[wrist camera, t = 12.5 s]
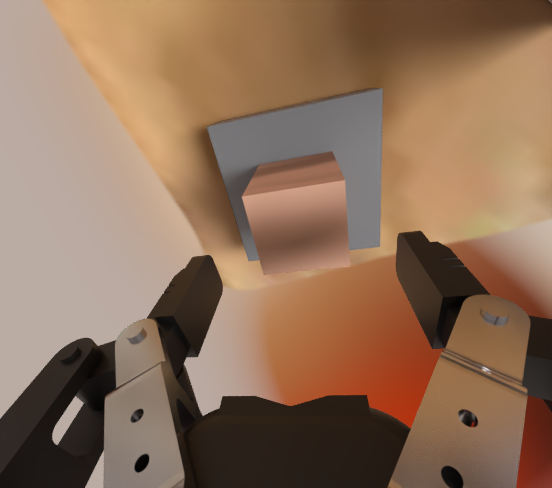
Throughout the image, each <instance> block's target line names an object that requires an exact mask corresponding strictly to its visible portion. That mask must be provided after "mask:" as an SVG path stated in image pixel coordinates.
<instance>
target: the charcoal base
mask: <svg viewBox="0 0 552 488" xmlns="http://www.w3.org/2000/svg"><path fill="white" fill-rule="evenodd" d="M382 106H383V88H369V89H364V90H360V91H355V92H350V93H346V94H341V95H337V96H332V97H328V98H323V99H319V100H314V101H310V102H305V103H301V104H296V105H292V106H287V107H283V108H278V109H274V110H269V111H264V112H260V113H255V114H251V115H246V116H242V117H237V118H233V119H228V120H224V121H219V122H217V123H215V124H212V125H210V126H208V127H207V130H208V133H209V136H210V139H211V142H212V146H213V149H214V152H215V155H216V158H217V162H218V165H219V168H220V171H221V174H222V178H223V181H224V184H225V187H226V190H227V194H228V197H229V200H230V203H231V206H232V210H233V213H234V216H235V219H236V222H237V226H238V229H239V232H240V235H241V238H242V242H243V245H244V248H245V251H246V254H247V257H248V261H256V260H260V259H259V256H258V252H257V249H256V245H255V242H254V238H253V235H252V231H251V228H250V224H249V221H248V217H247V214H246V210H245V207H244V203H243V200H242V195H243V193H244V191H245V190H246V188H247V186H248V184H249V182H250V181H251V179H252V177H253V175H254V173H255V172H256V170H257V168H258V166H259V164H265V163H270V162H276V161H281V160H287V159H292V158H298V157H303V156H309V155H314V154H320V153H325V152H331V151H332V152H333V154H334V156H335V158H336V161H337V163H338V165H339V167H340V170H341V172H342V174H343V176H344V179H345V188H346V205H347V222H348V239H349V250H355V249H364V248H373V247H380V217H381V161H382Z"/></svg>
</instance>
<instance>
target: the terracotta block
mask: <svg viewBox="0 0 552 488" xmlns="http://www.w3.org/2000/svg"><path fill="white" fill-rule="evenodd" d="M242 200H243V203H244V207H245V210H246V214H247V217H248V221H249V224H250V228H251V231H252V235H253V238H254V242H255V245H256V249H257V252H258V256H259V259H260V263H261V266H262V270H263V273H264V275H267V274H277V273H287V272H297V271H307V270H317V269H327V268H337V267H347V266H350V256H349V239H348V222H347V205H346V188H345V179H344V176H343V174H342V172H341V170H340V167H339V165H338V163H337V161H336V158H335V156H334V154H333V152H332V151H331V152H325V153H320V154H314V155H309V156H303V157H298V158H292V159H287V160H281V161H276V162H270V163H265V164H259V166H258V168H257V170H256V172H255V173H254V175H253V177H252V179H251V181H250V182H249V184H248V186H247V188H246V190H245V191H244V193H243V195H242Z"/></svg>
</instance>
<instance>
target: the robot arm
mask: <svg viewBox="0 0 552 488" xmlns="http://www.w3.org/2000/svg"><path fill="white" fill-rule="evenodd" d="M396 272H397V276H398V279H399V281H400V283H401V285H402V287H403V289H404V291H405V294H406V296H407V298H408V300H409V302H410V304H411V306H412V308H413V310H414V312H415V314H416V316H417V318H418V320H419V323H420V325H421V327H422V329H423V331H424V333H425V335H426V337H427V339H428V341H429V343H430V345H431V347H432V349H441V348H442V349H443V348H445V350H444V351H442V353H441V355H440V357H439V360H438V362H437V365H436V367H435V370H434V372H433V375H432V378H431V380H430V382H429V385H428V388H427V390H426V392H425V395H424V397H423V400H422V403H421V405H420V408H419V410H418V413H417V415H416V417H415V420H414V422H413V425H412V427H411V429H410V428H409V427H408V426H407V425H405V424H404V423H402V422H401V421H399V420H398V419H396V418H394V417H392V416H391V415H389V414H386V413H384V412H382V411H379V410H377V409H374V408H370V407H369V404H368V399H367V395H347V396H346V395H345V396H344V395H333V396H325V397H322V398H318V399H315V400H312V401H308V402H304V403H301V404H298V405H294V406H287V405H284V404H280V403H277V402H274V401H270V400H267V399H263V398H260V397H257V396H223V397H222V401H221V405H220V409H217V410H214V411H212V412H210V413H208V414H206V415H204V416H203V415H202V413H201V411H200V409H199V407H198V404H197V401H196V398H195V394H194V391H193V388H192V385H191V382H190V379H189V376H188V373H187V370H186V367H185V365H184V361H185V359H186V357H198V355H199V353H200V350H201V347H202V345H203V342H204V339H205V337H206V334H207V331H208V329H209V326H210V324H211V321H212V318H213V316H214V313H215V311H216V308H217V306H218V303H219V300H220V298H221V295H222V291H223V285H222V281H221V278H220V275H219V273H218V271H217V268H216V266H215V263H214V261H213V258H212V257H211V256H210V255H205V256H196V257H193V258H191V260H190V262H189V263H188V265H187V266H186V268H185V269H183V270H181V271H180V272H179V273H178V274H177V275H176V276H174V278H173V279H172V281H171V282H170V284H169V287H167V289H166V290H165V291H164V294H162V296H161V297H160V299H159V300H158V302H157V304H156V305H155V306H154V308H153V310H152V311H151V313H150V314H149V316H148V317H147V319H142V320H139V321H137V322H134V323H133V324H131V325H129V326H128V327H127V328H126V329H124V330H123V331H122V332H121V334H120V335H119V336H118V338H117V340H115V341H112V342H110V343H106V344H104V345H100V346H97V345H96V344H95V343H94V341H93V340H92V339H90V338H82V339H78V340H76V341H74V342H72V343H70V344H68V345H67V346H65V347H64V348H62V349H61V350H60V351H59V352H58V353H57V354H56V355H55V356H54V357H53V358H52V359H51V360H50V361H49V363H48V364H47V365H46V366H45V367H44V368H43V370H42V371H41V372H40V373H39V375H38V376H37V377H36V378H35V379H34V380H33V381H32V382H31V384H30V385H29V386H28V387H27V388H26V389H25V391H24V392H23V393H22V394H21V395H20V396H19V398H18V399H17V400H16V401H15V402H14V404H13V405H12V406H11V407H10V408H9V409H8V410H7V412H6V413H5V414H4V415H3V416H2V418H1V419H0V488H85V486H86V484H87V482H88V480H89V478H90V476H91V474H92V472H93V470H94V468H95V466H96V464H97V462H98V460H99V458H100V456H101V454H102V452H103V450H104V488H516V482H517V474H518V465H519V458H520V450H521V442H522V434H523V427H524V419H525V411H526V402H527V395H530V396H534V397H537V398H541V399H543V400H544V402H545V403H546V404H547V406H548V408H549V409H550V410H551V412H552V319H546V318H540V317H534V316H528V315H527V314H526V313H525V312H524V310H523V309H521V308H520V307H519V306H517V305H516V304H514V303H512V302H510V301H508V300H506V299H503V298H500V297H496V296H492V295H490V294H489V293H488V291H487V290H486V289H485V288H484V287H483V286H482V285H481V284H480V282H479V281H478V280H477V279H476V278H475V277H474V276H473V274H472V273H471V272H470V271H469V270H468V269H467V268H466V267H464V264H463V263H462V262H461V261H460V260H459V259H458V257H457V256H456V255H455V254H454V253H453V252H452V250H451V249H450V248H448V247H446V246H444V245H442V244H441V243H439V242H429V240H428V239H427V238H426V237H425V235H424V234H423V233H422V232H421V231H413V232H404V233H399V234H398V238H397V253H396ZM75 396H76V397H77V398H79V399H80V400H81V401H82V402H83V403H84V404H83V406H82V407H81V409H80V411H79V412H78V414H77V415H76V417H75V418H74V420H73V422H72V423H71V425H70V426H69V428H68V430H67V431H66V433H65V434H64V436H63V437H62V439H61V441H60V442H59V444H58V445H56V444H54V442H53V440H52V433H53V430H54V427H55V425H56V423H57V422H58V421H59V419H60V417H61V416H62V415H63V413H64V412H65V410H66V408H67V407H68V405H69V404H70V403H71V401H72V400H73V398H74V397H75Z"/></svg>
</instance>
